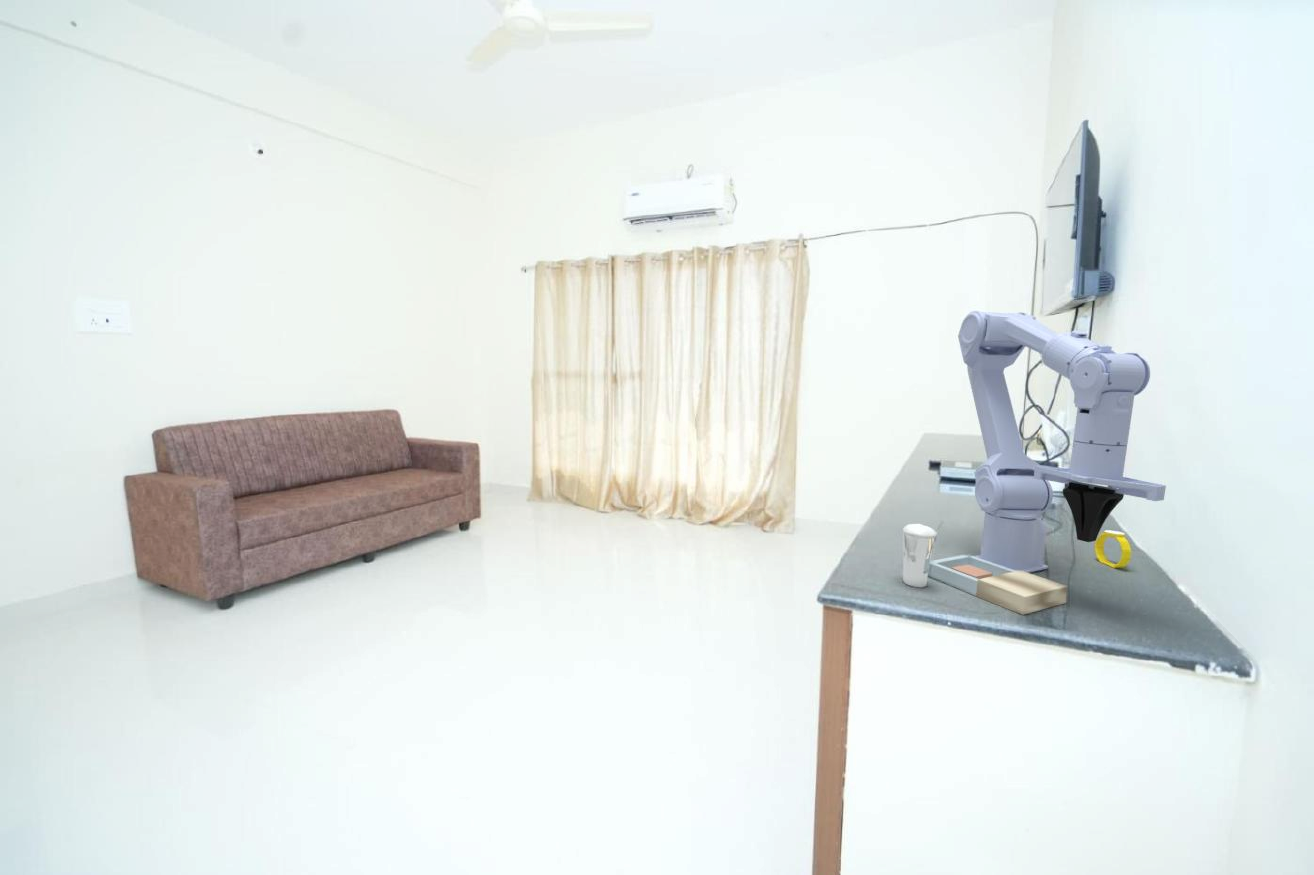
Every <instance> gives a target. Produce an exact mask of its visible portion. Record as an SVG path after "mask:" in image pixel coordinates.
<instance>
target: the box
mask: <svg viewBox="0 0 1314 875" xmlns="http://www.w3.org/2000/svg"><path fill="white" fill-rule="evenodd" d="M974 556H975V555H971V554H960V555H955V556H949V557H944V558H941V559H936V560H935V559H934V560H931V561H930V567H929V572H928V578H931V579H934V580H936V581H938V582H941V583H943V584H946V585H948V586H950V587H953V588H955V589H958V590H960V591H963V592H965V593H966V594H970V595H971V596H975V597H977V596H976V592H977V583H978V579H977V578H974V577H972V576H969V575H966V574H964V573H961V572H958V571H956V570H953V569H951V568H952V567H957V566H962V565H967V564H969V565H971V566H974V567H977V568H980V569H983V570H985V571H988V572H991V573H993V576H996V575H1001V574H1005V573H1010V572H1015V570H1012V569H1009V568H1006V567H1004V566H1001V565H998V564H995V563H992V562H989V561H986V560H983V559H980V558H977V557H974Z"/></svg>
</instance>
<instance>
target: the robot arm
mask: <svg viewBox="0 0 1314 875" xmlns="http://www.w3.org/2000/svg"><path fill="white" fill-rule="evenodd" d="M1087 336H1088V333H1087V332H1085V331H1084V330H1072V331H1066V332H1062V333H1058V332H1056V331H1054V330H1052V329H1051V328H1049V327H1048V326H1046V325H1044V324H1043V323H1041V322H1039V321H1038V320H1037V319H1036V316H1035V315H1031V314H1028V313H1026V312H993V311H992V312H990V311H988V312H987V311H979V310H973V311H970V312H969V313H968V314H967V315H966V316H965V317H964V319H963V320H962V323H961V326H960V329H959V331H958V335H957V337H958V338H957V339H958V342H959V347H960V350H961V356H962V360H963V364H965V365H966V367H967V374H968V379H969V383H970V388H971V393H972V398H973V401H974V406H975V409H976V415H977V418H978V422H979V427H980V431H981V435H982V436H981V437H982V440H983V444H984V450H985V454H986V457H987V458H986V460H985V461H984V462H983V463H981V464H980V465H979V466H978V467H977V468H976V469H975V471H974V477H975V486H974V487H975V488H974V497H975V500H976V502H977V505H978V506H979V508H980V510H981V511H983V512H984V516H983V517H984V518H983V519H984V520H983V527H982V537H981V544H980V554H979V555H973V556H974V557H977V558H980V559H983V560H986V561H989V562H992V563H995V564H998V565H1001V566H1004V567H1006V568H1009V569H1012V570H1015V571H1019V570H1021V571H1024V572H1027V573H1030V574H1031V573H1034V572H1039V571H1042V570H1047V569H1049V565H1047V564H1045V563H1043V560H1044V553H1045V547H1046V546H1045V545H1046V539H1047V527H1046V524H1045V523H1044V521H1043V519H1042V516H1043V515H1042V513H1044V512H1046V511H1047V510H1048V509H1049V508H1050V507H1051V505H1052V503H1053V499H1054V491H1053V486H1052V485H1051V483H1050V482H1055V483H1058V484H1059V483H1061V484H1066V485H1067V487H1065V488H1063V489H1062V495H1063V496H1064V499H1065V500H1066V502H1067V504H1068V506H1069V509H1070V511H1071V514H1072V518H1073V522H1074V528H1075V531H1076V540H1079V541H1082V542H1086V543H1091V542H1096V539H1097V538H1098V537H1099V535H1100V534H1099V533H1100V531H1101V529H1102V528H1103V525H1104V523H1105V522H1106V520H1107V518H1108V517H1109V516H1110V514H1111V513H1112V512H1113V510H1114V509H1115V508H1116V506H1117V505H1118V504H1119V503H1121V501H1122V500H1123V499H1124V497H1125V496H1131V497H1135V498H1142V499H1146V500H1148V501H1153V502H1159V501H1164V500H1165V495H1166V487H1167V486H1166V484H1159V483H1154V482H1150V481H1145V480H1139V479H1136V478H1130V477H1126V476H1124V473H1125V472H1124V470H1125V465H1126V464H1125V463H1126V458H1127V457H1126V456H1127V449H1128V444H1129V437H1130V436H1129V435H1130V430H1131V421H1132V416H1133V415H1132V414H1133V407H1134V402H1135V397H1136V396H1138V395H1139V394H1141V393H1142V392H1143V391H1144V390H1145V389H1146V388H1147V386H1148V384H1149V382H1150V378H1151V368H1150V365H1149V363H1148V361H1147V360H1146V359H1145V358H1144V357H1142V356H1141V355H1140V354H1139V353H1138V352H1125V353H1116V352H1115V351H1114V350H1112V348H1113V347H1112V346H1111V345H1109V344H1108V343H1097V342H1095V341H1093V340H1091V339H1088V338H1087ZM1025 347H1026V348H1028V349H1030V350H1032V351H1035V352H1036V353H1039V354H1041V359H1042V363H1043V364H1044V365H1045V366H1046V367H1047V368H1049V369H1050V370H1053V371H1054V372H1055V373H1057V374H1059V375H1060V376H1063V377H1064V378H1066V379H1068V380H1069V384H1070V387H1071V389H1072V391H1073V404H1074V407H1075V408H1077V409H1076V410H1077V412H1076V419H1075V424H1074V431H1073V432H1074V433H1073V441H1072V448H1071V454H1070V462H1069V468H1065V467H1056V466H1050V465H1041V464H1039V463H1038V462H1037V461H1035V460H1034V459H1032V458H1031V457H1029V456H1028V455H1026V454H1025V451H1024V447H1023V444H1022V440H1021V436H1020V432H1019V428H1018V424H1017V419H1016V417H1015V413H1014V409H1013V404H1012V401H1011V397H1010V392H1009V389H1008V384H1007V380H1006V377H1005V373H1004V370H1006V369H1007V367H1010V366H1012V365H1014V363H1015V362H1016V360H1017V359H1018V357H1019V356H1021V354H1022V352H1023V351H1024V349H1025Z"/></svg>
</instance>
